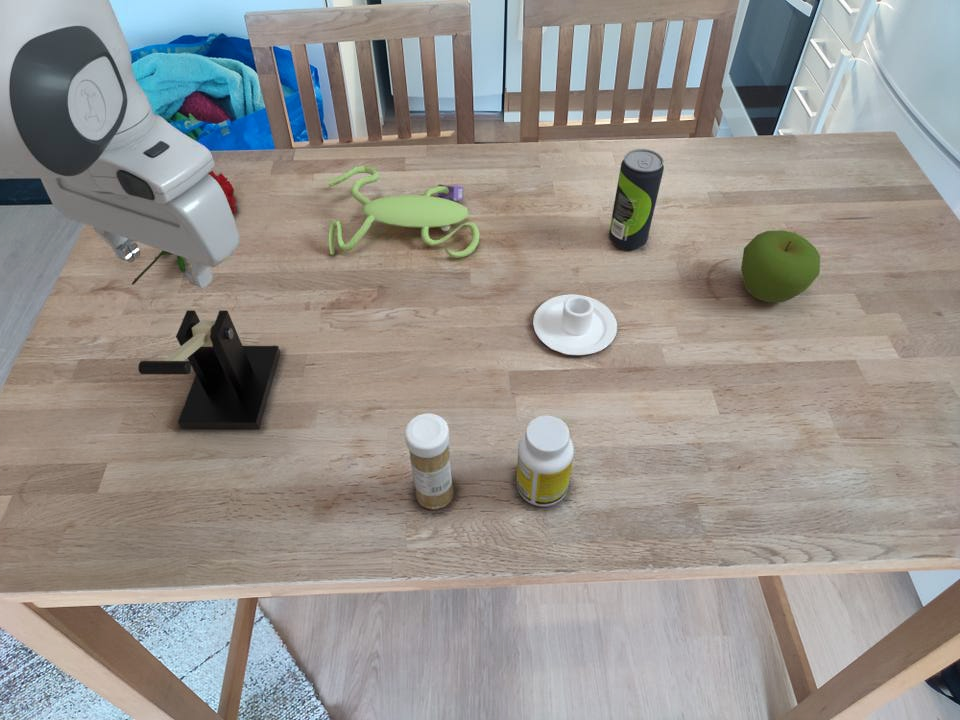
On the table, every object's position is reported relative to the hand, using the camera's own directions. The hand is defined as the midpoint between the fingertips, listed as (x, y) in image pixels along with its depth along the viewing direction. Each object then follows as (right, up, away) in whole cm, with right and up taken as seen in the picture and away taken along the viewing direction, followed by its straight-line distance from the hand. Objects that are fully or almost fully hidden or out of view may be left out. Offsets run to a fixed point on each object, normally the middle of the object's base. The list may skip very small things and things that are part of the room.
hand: (165, 269), depth 67 cm
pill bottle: (+40, -24, +11) cm, 48 cm away
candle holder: (+46, -5, +28) cm, 54 cm away
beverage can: (+56, +10, +41) cm, 70 cm away
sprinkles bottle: (+27, -25, +11) cm, 38 cm away
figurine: (+19, +14, +44) cm, 50 cm away
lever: (-1, -9, +9) cm, 12 cm away
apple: (+76, +1, +32) cm, 82 cm away
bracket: (-1, -13, +21) cm, 25 cm away
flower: (-15, +10, +41) cm, 45 cm away
